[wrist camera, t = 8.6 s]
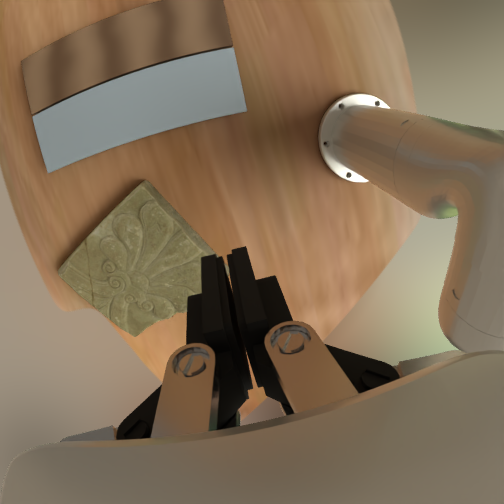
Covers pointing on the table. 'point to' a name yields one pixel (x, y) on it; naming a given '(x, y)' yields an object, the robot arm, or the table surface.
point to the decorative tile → (138, 262)
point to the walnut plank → (124, 48)
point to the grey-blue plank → (140, 106)
